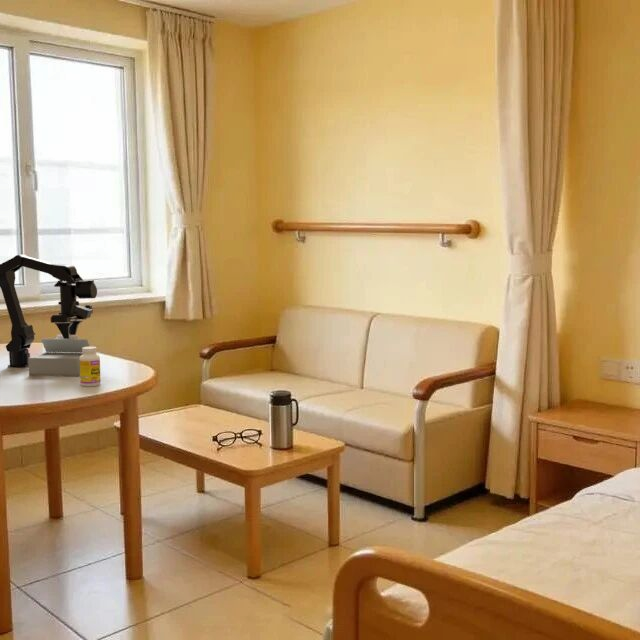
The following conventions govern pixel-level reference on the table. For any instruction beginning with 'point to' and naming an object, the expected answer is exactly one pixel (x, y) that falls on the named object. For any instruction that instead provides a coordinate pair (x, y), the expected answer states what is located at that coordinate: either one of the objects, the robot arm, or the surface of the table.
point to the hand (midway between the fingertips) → (70, 340)
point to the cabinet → (55, 364)
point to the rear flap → (65, 344)
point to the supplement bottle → (89, 367)
